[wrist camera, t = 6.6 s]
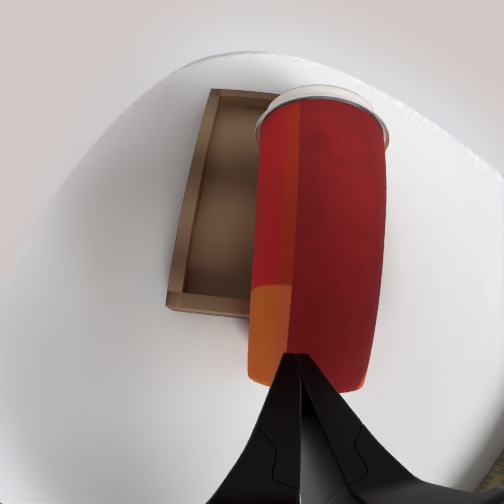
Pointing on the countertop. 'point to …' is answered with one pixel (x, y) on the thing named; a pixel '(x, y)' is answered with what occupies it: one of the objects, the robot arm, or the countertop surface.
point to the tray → (219, 210)
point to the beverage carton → (494, 476)
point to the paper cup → (318, 233)
